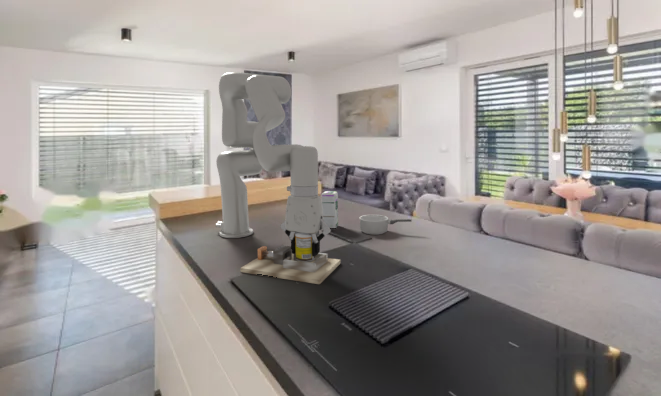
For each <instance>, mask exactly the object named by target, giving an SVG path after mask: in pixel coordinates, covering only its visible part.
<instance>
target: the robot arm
mask: <svg viewBox="0 0 661 396" xmlns="http://www.w3.org/2000/svg"><path fill="white" fill-rule="evenodd" d="M218 94H219V99H220V102H221V109H222V116H221V141H222V144H223V146H225V147H227V148H232V149H237V148H238V149H237V150H226V151H223V152H220V153H219V154H217V157H216V167H217V172H218V177H219V185H220V195H221V197H220V198H221V199H220V200H221V211H222V212H221V213H222V221H220V220H218V221H217V222H216V223H215V227H216V228H220V230H219V233H218V234H219V236H220V237H221V238H226V239H239V238H244V237H248V236H251V235H253V234H254V229H253V228H251V227H250V225H249V203H248V200H249V199H248V188H247V185H246V183H245V182H244V181H243V179H242V178H241V177H244V176H255V175H259V174H261V173H262V172H263V170H265V171H266V172H268V173H277V172H278V173H279V172H290V184H289V186H288V185H287V186H286V191H288V192H290V193H289V194H290V195H288V196H287V200H286V207H285V220H284V221H283V222H282V223H281V225H280V228H281V230H282V231H283V232H284V233H285V234H286V235H287V236H288V239H289V240H290V246H291V250H292V254H295V253H296V246H295V233H296V232H299V233H308V234H312V237H313V240H314V242H313V243H312V256H314V257H315V256H316V255H317V254H318V253H321V252H320V251H321V240H322V239H324V238H325V236H327V235H328V234H329V233H331V231H332V229H330V228H329V227H328V226H327V224H326V223H325V222H324V221H323V209H322V200H321V195H319V161H318V160H319V158H318V157H319V155H318V154H319V151H318V149H317V148H316V147H315V146H310V145H309V146H307V145H305V146H304V145H301V144H271V143H270V140H269V139H268V136H267V132H269V131H271V130H273V129H275V128H277V127H279V126H280V125H281V124H282V123H283V122H284V120H286V112H285V110H284V107H283V104H287V103H288V102H289V101H290V100H291V96H292V88H291V84H290V83H289V81H288V79H286V78H285V77H283V76H278V75H277V76H276V75H268V74H267V75H266V74H256V73H250V72H249V73H248V72H240V71H237V72H236V71H235V72H234V71H231V72H226V73H224V74H222V75H221V76H220V79H219V82H218ZM244 100H249V102H250V105H251V107H252V110H253V113H254V115H255V117H256V119H257V121H249V120H248V107H247V105H246V104H245V101H244ZM242 148H243V150H242ZM245 148H249V149H247V150H244V149H245ZM239 149H241V150H239ZM322 230H323V231H322ZM320 231H322V232H320Z"/></svg>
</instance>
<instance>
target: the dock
mask: <svg viewBox="0 0 661 396" xmlns="http://www.w3.org/2000/svg"><path fill="white" fill-rule="evenodd" d="M272 251H273V260H272V259H262V260H258V257H257V258H255V259H253V260H251V261H250V262H248V263H247V264H245V265H243V266H241V267H240V273H245V274H251V275H257V274H262V275H261V276H263V275H268V276H267V277H269V276H273V277H272V278H276V277H277V278H276V279H284V280H289V281H297V282H301V283H309V284H313V285H314V284H316V285H321V284H322V283H323V282H324V281H325V280H326V279H327V278H328V277H329V276H330V275H331V274H332V273H333V272H334V271H335V270H336V269H337V268H338V266H339V265H340V264H341V259H338V258H330V257H328V256H329V253H327V252H326V253H325V252H319V253H318V254H317V255H316V256H315V259H314V260H313V261H312V262H301V261H297V260H296V253H295V254H292V250H291V245H283V244H282V245H281V246H279V247H277V248H276V249H274V250H272ZM285 253H286V259H285Z"/></svg>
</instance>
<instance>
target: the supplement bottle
mask: <svg viewBox="0 0 661 396" xmlns="http://www.w3.org/2000/svg"><path fill="white" fill-rule="evenodd" d="M313 242H314V240H313V237H312V234H308V233H299V232H296V233H295V246H296V260H297V261H301V262H312V261H313V260H314V259H315V257H314V256H312V243H313Z"/></svg>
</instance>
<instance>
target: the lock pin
mask: <svg viewBox="0 0 661 396" xmlns="http://www.w3.org/2000/svg"><path fill="white" fill-rule="evenodd" d="M267 249H268V247H267V246H265V245H263V246H261V247H259V248H257V258H258V260H262V259H272V260H273V251H274V250H267ZM285 259H286V253H285Z"/></svg>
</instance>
